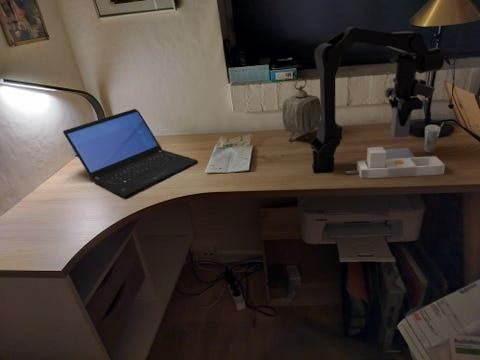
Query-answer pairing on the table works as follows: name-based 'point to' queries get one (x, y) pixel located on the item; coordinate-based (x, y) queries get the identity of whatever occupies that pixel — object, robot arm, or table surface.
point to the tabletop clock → (301, 112)
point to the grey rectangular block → (396, 127)
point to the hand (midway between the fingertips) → (400, 123)
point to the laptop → (123, 153)
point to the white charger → (376, 157)
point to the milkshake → (431, 137)
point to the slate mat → (398, 153)
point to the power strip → (401, 168)
